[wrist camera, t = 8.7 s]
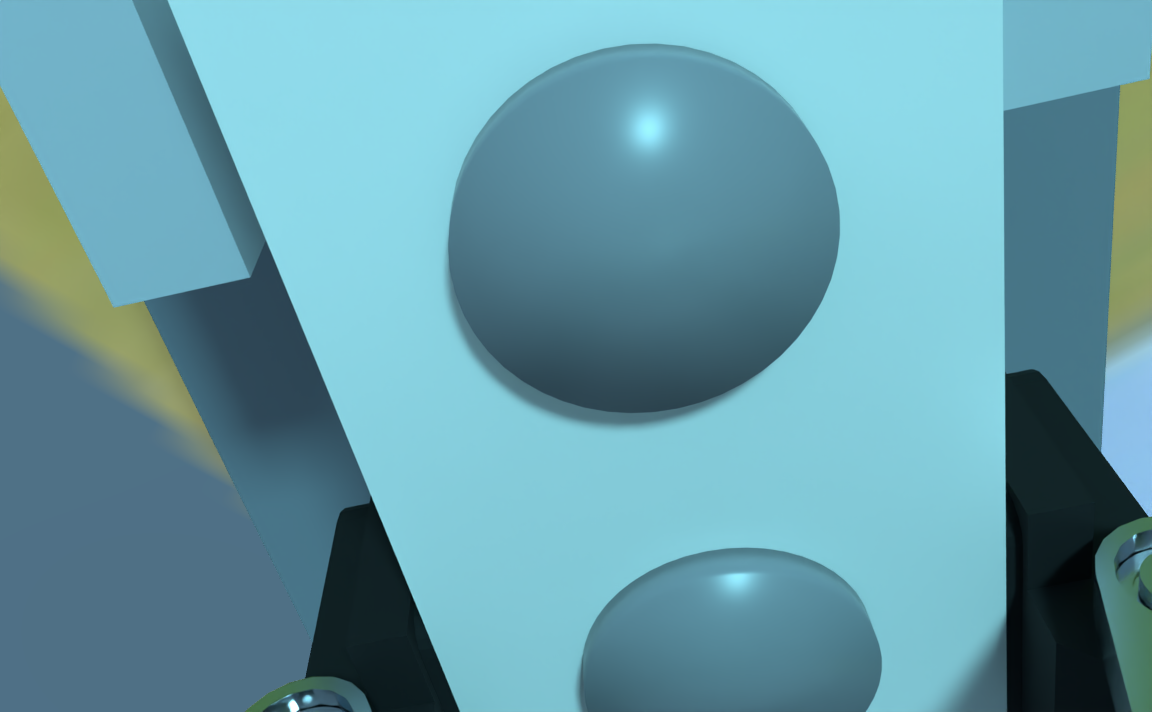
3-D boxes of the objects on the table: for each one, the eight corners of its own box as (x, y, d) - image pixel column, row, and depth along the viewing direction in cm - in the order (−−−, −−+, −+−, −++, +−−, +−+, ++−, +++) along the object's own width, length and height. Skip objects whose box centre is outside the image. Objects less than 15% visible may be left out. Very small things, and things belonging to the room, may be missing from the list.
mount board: (1119, -936, 10) (1759, -1561, 5) (1063, 689, 22) (1235, 1006, 16) (-224, -553, 11) (-871, -743, 6) (419, 808, 22) (394, 1143, 17)
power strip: (791, -468, 9) (1052, -581, 4) (902, 782, 17) (1028, 1147, 13) (235, -323, 9) (-8, -302, 5) (613, 833, 18) (644, 1206, 13)
